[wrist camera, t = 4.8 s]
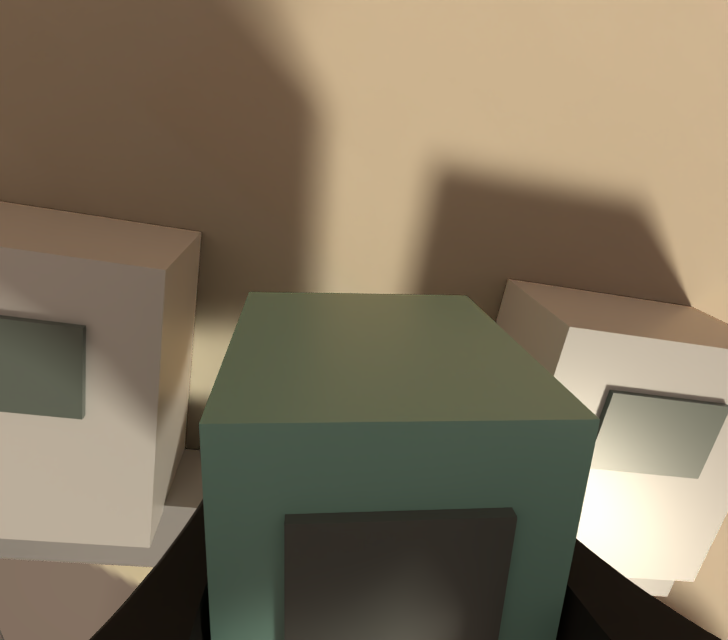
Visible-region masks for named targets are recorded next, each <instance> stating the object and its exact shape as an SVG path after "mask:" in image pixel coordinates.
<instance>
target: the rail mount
mask: <svg viewBox="0 0 728 640" xmlns="http://www.w3.org/2000/svg"><path fill="white" fill-rule="evenodd" d="M201 235H202V232H198V231H192V230H185V229H179V228H172V227H166V226H159V225H153V224H146V223H139V222H133V221H126V220H120V219H113V218H107V217H100V216H94V215H87V214H80V213H74V212H67V211H61V210H54V209H48V208H41V207H35V206H28V205H22V204H15V203H8V202H2V201H0V559H19V560H37V561H54V562H71V563H88V564H106V565H123V566H141V567H155V565H156V564H157V563H158V562H159V560H160V559H161V558H162V556H163V555H164V554H165V552H166V551H167V550H168V548H169V547H170V546H171V544H172V543H173V542H174V540H175V539H176V538H177V536H178V535H179V534H180V532H181V531H182V529H183V528H184V526H185V525H186V524H187V522H188V521H189V519H190V518H191V516H192V515H193V513H194V512H195V510H196V509H197V507H198V506H199V504H200V502H201V501H202V499H203V489H202V471H201V453H200V450H193V449H185V439H186V426H187V414H188V401H189V388H190V375H191V363H192V350H193V337H194V324H195V312H196V299H197V286H198V273H199V261H200V248H201ZM496 323H497V324H498V325H499V326H500V327H501V328H502V329H503V330H504V331H505V332H507V333H508V334H509V335H510V336H511V337H512V338H513V339H514V340H515V341H516V342H517V343H518V344H519V345H521V346H522V347H523V348H524V349H525V350H526V351H527V352H528V353H529V354H530V355H531V356H532V357H533V358H535V359H536V360H537V361H538V362H539V363H540V364H541V365H542V366H543V367H544V368H545V369H546V370H547V371H549V372H550V373H551V374H552V375H553V376H554V377H555V378H556V379H557V380H558V381H559V382H560V383H561V384H563V385H564V386H565V387H566V388H567V389H568V390H569V391H570V392H571V393H572V394H573V395H574V396H575V397H577V398H578V399H579V400H580V401H581V402H582V403H583V404H584V405H585V406H586V407H587V408H588V409H589V410H591V411H592V412H593V413H594V414H595V415H596V416H597V417H598V418H599V419H600V423H599V428H598V433H597V438H596V443H595V448H594V452H593V457H592V462H591V467H590V472H589V477H588V482H587V487H586V492H585V497H584V502H583V507H582V512H581V517H580V522H579V527H578V532H577V537H576V539H578V540H579V541H580V542H581V543H583V544H584V545H585V546H586V547H587V548H589V549H590V550H591V551H592V552H594V553H595V554H596V555H597V556H599V557H600V558H601V559H602V560H604V561H605V562H606V563H608V564H609V565H610V566H612V567H613V568H614V569H616V570H617V571H618V572H620V573H621V574H622V575H624V576H625V577H626V578H628V579H629V580H630V581H632V582H633V583H634V584H636V585H637V586H639V587H640V588H641V589H643V590H644V591H646V592H647V593H648V594H650V595H651V596H666V597H667V596H668V594H669V592H670V590H671V588H672V586H673V584H674V582H675V581H688V582H694V580H695V578H696V576H697V574H698V572H699V570H700V567H701V565H702V563H703V561H704V559H705V557H706V555H707V553H708V551H709V549H710V547H711V545H712V543H713V541H714V539H715V537H716V535H717V533H718V531H719V529H720V527H721V525H722V523H723V521H724V518H725V516H726V514H727V512H728V324H727V323H725V322H723V321H721V320H719V319H717V318H715V317H713V316H710V315H708V314H706V313H704V312H702V311H700V310H698V309H696V308H694V307H690V306H683V305H677V304H670V303H664V302H657V301H650V300H644V299H637V298H631V297H624V296H618V295H611V294H605V293H598V292H591V291H585V290H578V289H572V288H565V287H559V286H552V285H546V284H539V283H532V282H526V281H519V280H513V279H508V280H507V284H506V288H505V291H504V295H503V299H502V302H501V306H500V309H499V313H498V317H497V320H496Z"/></svg>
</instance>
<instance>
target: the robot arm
mask: <svg viewBox="0 0 728 640" xmlns="http://www.w3.org/2000/svg"><path fill="white" fill-rule="evenodd" d="M90 640H211V632H210V614H209V596H208V578H207V560H206V542H205V524H204V506H203V499H202V501H201V502H200V504H199V506H198V507H197V509H196V510H195V512H194V513H193V515H192V516H191V518H190V519H189V521H188V522H187V524H186V525H185V526H184V528H183V529H182V531H181V532H180V534H179V535H178V536H177V538H176V539H175V540H174V542H173V543H172V544H171V546H170V547H169V548H168V550H167V551H166V552H165V554H164V555H163V556H162V558H161V559H160V560H159V562H158V563H157V564H156V565H155V567H154V568H153V569H152V570H151V572H150V573H149V574H148V575H147V576H146V577H145V579H144V580H143V581H142V582H141V583H140V585H139V586H138V587H137V588H136V589H135V591H134V592H133V593H132V594H131V595H130V597H129V598H128V599H127V600H126V601H125V602H124V603H123V605H122V606H121V607H120V608H119V609H118V610H117V611H116V612H115V613H114V614H113V616H112V617H111V618H110V619H109V620H108V621H107V622H106V623H105V624H104V625H103V626H102V627H101V628H100V629H99V631H97V632H96V633H95V634H94V636H93V637H92V638H91V639H90ZM556 640H721V639H719V638H718V637H716V636H714V635H713V634H711V633H709V632H707V631H706V630H704V629H702V628H701V627H699V626H698V625H696V624H694V623H693V622H691V621H689V620H688V619H686V618H685V617H683V616H682V615H680V614H679V613H677V612H676V611H674V610H673V609H671V608H670V607H668V606H666V605H665V604H663V603H662V602H660V601H659V600H657V599H656V598H654V597H653V596H651V595H650V594H648V593H647V592H646V591H644V590H643V589H641V588H640V587H639V586H637V585H636V584H634V583H633V582H632V581H630V580H629V579H628V578H626V577H625V576H624V575H622V574H621V573H620V572H618V571H617V570H616V569H614V568H613V567H612V566H610V565H609V564H608V563H606V562H605V561H604V560H602V559H601V558H600V557H599V556H597V555H596V554H595V553H594V552H592V551H591V550H590V549H589V548H587V547H586V546H585V545H584V544H583V543H581V542H580V541H579V540H578V539H576V542H575V547H574V552H573V557H572V562H571V567H570V572H569V577H568V582H567V587H566V592H565V597H564V602H563V607H562V612H561V616H560V621H559V626H558V631H557V636H556Z"/></svg>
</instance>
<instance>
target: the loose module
mask: <svg viewBox="0 0 728 640" xmlns="http://www.w3.org/2000/svg"><path fill="white" fill-rule="evenodd" d="M599 423H600V419H599V418H598V417H597V416H596V415H595V414H594V413H593V412H592V411H591V410H589V409H588V408H587V407H586V406H585V405H584V404H583V403H582V402H581V401H580V400H579V399H578V398H577V397H575V396H574V395H573V394H572V393H571V392H570V391H569V390H568V389H567V388H566V387H565V386H564V385H563V384H561V383H560V382H559V381H558V380H557V379H556V378H555V377H554V376H553V375H552V374H551V373H550V372H549V371H547V370H546V369H545V368H544V367H543V366H542V365H541V364H540V363H539V362H538V361H537V360H536V359H535V358H533V357H532V356H531V355H530V354H529V353H528V352H527V351H526V350H525V349H524V348H523V347H522V346H521V345H519V344H518V343H517V342H516V341H515V340H514V339H513V338H512V337H511V336H510V335H509V334H508V333H507V332H505V331H504V330H503V329H502V328H501V327H500V326H499V325H498V324H497V323H496V322H495V321H494V320H492V319H491V318H490V317H489V316H488V315H487V314H486V313H485V312H484V311H483V310H482V309H481V308H480V307H478V306H477V305H476V304H475V303H474V302H473V301H472V300H471V299H470V298H469V297H468V296H467V295H417V294H355V293H292V292H249V294H248V296H247V299H246V302H245V304H244V307H243V310H242V312H241V315H240V317H239V320H238V323H237V325H236V328H235V331H234V333H233V336H232V338H231V341H230V344H229V346H228V349H227V352H226V354H225V357H224V359H223V362H222V365H221V367H220V370H219V373H218V375H217V378H216V380H215V383H214V386H213V388H212V391H211V394H210V396H209V399H208V401H207V404H206V407H205V409H204V412H203V414H202V417H201V420H200V422H199V435H200V453H201V471H202V489H203V506H204V524H205V542H206V560H207V578H208V596H209V614H210V632H211V640H556V636H557V631H558V626H559V621H560V616H561V612H562V607H563V602H564V597H565V592H566V587H567V582H568V577H569V572H570V567H571V562H572V557H573V552H574V547H575V542H576V537H577V532H578V527H579V522H580V517H581V512H582V507H583V502H584V497H585V492H586V487H587V482H588V477H589V472H590V467H591V462H592V457H593V452H594V448H595V443H596V438H597V433H598V428H599Z"/></svg>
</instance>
